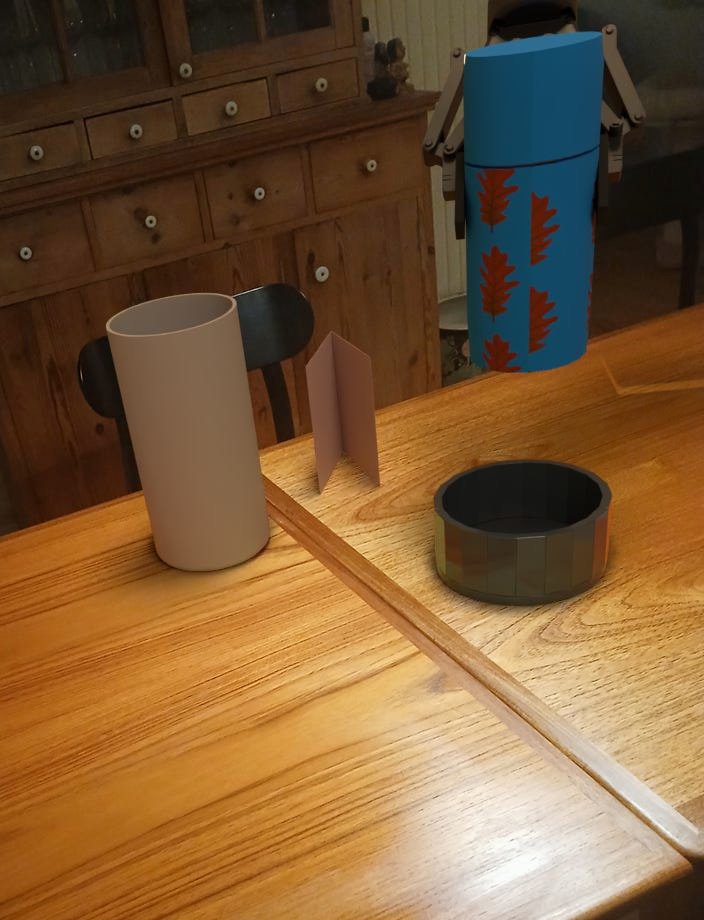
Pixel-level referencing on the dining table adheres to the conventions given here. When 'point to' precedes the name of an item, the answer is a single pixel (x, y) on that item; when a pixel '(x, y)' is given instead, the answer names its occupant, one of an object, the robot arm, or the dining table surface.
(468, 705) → the dining table surface
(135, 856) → the dining table surface
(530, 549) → the faceted round dish
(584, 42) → the thermos
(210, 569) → the cylinder vase
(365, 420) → the greeting card
